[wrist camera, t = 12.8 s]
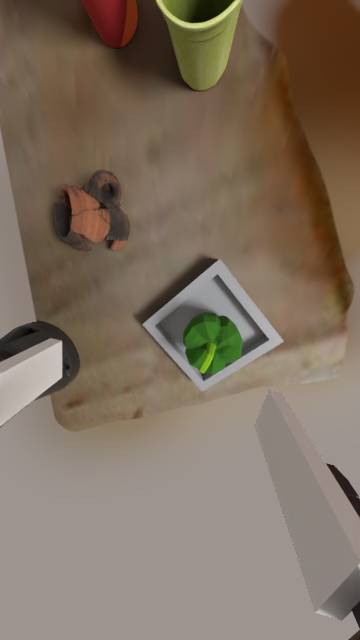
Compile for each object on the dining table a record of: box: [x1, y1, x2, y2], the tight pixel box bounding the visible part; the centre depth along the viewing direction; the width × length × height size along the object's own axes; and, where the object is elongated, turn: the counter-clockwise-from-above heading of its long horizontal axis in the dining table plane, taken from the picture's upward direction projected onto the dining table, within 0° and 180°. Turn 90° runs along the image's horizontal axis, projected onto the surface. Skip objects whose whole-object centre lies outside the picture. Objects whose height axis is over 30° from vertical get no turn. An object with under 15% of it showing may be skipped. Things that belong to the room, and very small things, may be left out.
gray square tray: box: [142, 259, 284, 391], centre depth 31 cm, size 16×16×3 cm
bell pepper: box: [183, 312, 243, 374], centre depth 27 cm, size 8×8×10 cm
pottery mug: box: [54, 170, 130, 252], centre depth 27 cm, size 12×10×8 cm
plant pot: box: [155, 0, 243, 90], centre depth 19 cm, size 9×9×9 cm
